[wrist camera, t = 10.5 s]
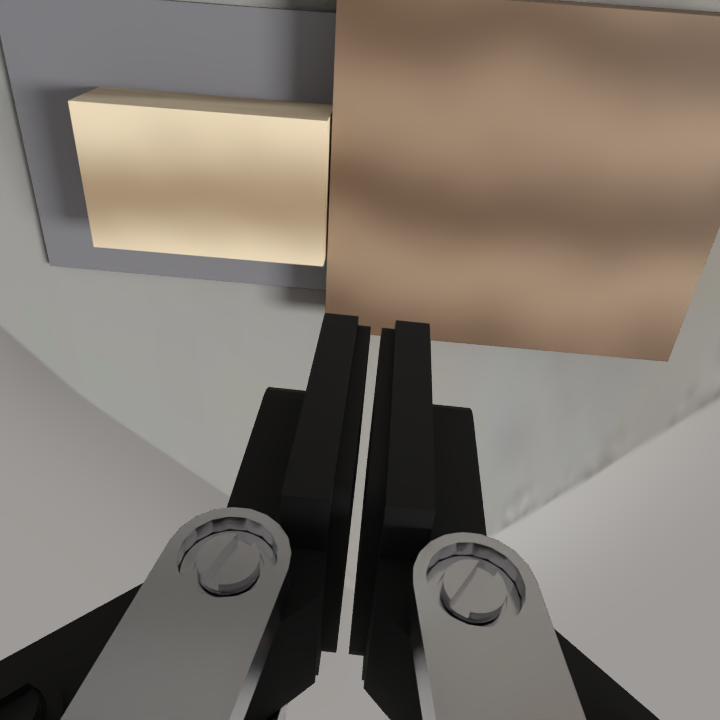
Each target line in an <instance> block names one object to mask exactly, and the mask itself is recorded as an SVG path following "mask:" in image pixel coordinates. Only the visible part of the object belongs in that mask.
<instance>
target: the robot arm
mask: <svg viewBox="0 0 720 720" xmlns="http://www.w3.org/2000/svg"><path fill="white" fill-rule="evenodd" d="M358 323H359V316H352V315H342V314H332V313H325V315H324V319H323V323H322V327H321V331H320V335H319V339H318V343H317V348H316V352H315V356H314V360H313V364H312V368H311V372H310V376H309V381H308V385H307V389H306V391H301V390H292V389H282V388H273V387H268V388H267V389H266V392H265V394H264V397H263V400H262V403H261V406H260V409H259V412H258V415H257V418H256V421H255V424H254V427H253V430H252V433H251V436H250V439H249V442H248V445H247V448H246V451H245V454H244V457H243V460H242V463H241V466H240V469H239V472H238V475H237V478H236V481H235V484H234V487H233V491H232V494H231V497H230V500H229V503H228V506H227V508H222V509H214V510H211V511H209V512H206V513H203V514H201V515H198V516H196V517H194V518H193V519H191V520H190V521H188V522H187V523H186V524H184V525H183V526H181V527H180V528H179V529H178V531H177V532H176V533H175V534H174V535H173V537H172V538H171V539H170V540H169V542H168V544H167V545H166V547H165V549H164V550H163V552H162V554H161V555H160V557H159V558H158V560H157V562H156V563H155V565H154V566H153V568H152V570H151V571H150V573H149V575H148V576H147V578H146V580H145V581H144V583H142V584H140V585H139V586H137V587H135V588H133V589H131V590H129V591H128V592H126V593H124V594H122V595H120V596H118V597H117V598H115V599H113V600H111V601H109V602H108V603H106V604H104V605H102V606H100V607H98V608H96V609H95V610H93V611H91V612H89V613H87V614H85V615H84V616H82V617H80V618H78V619H76V620H75V621H73V622H71V623H69V624H67V625H65V626H63V627H62V628H60V629H58V630H56V631H54V632H52V633H51V634H49V635H47V636H45V637H43V638H41V639H40V640H38V641H36V642H34V643H32V644H30V645H29V646H27V647H25V648H23V649H21V650H19V651H18V652H16V653H14V654H12V655H10V656H8V657H7V658H5V659H3V660H1V661H0V720H285V716H286V710H287V704H288V703H289V702H290V701H291V700H293V699H294V698H295V697H297V696H298V695H299V694H300V693H302V692H303V691H304V690H306V689H307V688H308V687H310V686H311V685H312V684H314V683H315V676H316V675H318V672H319V665H320V657H321V651H326V652H335V653H336V650H337V641H338V632H339V624H340V615H341V606H342V597H343V588H344V579H345V571H346V562H347V553H348V544H349V535H350V526H351V517H352V508H353V500H354V491H355V482H356V473H357V464H358V454H359V444H360V434H361V424H362V414H363V403H364V393H365V383H366V373H367V363H368V353H369V343H370V332H371V326H362V325H358ZM349 654H353V655H362V656H364V658H363V671H362V680H364V689H365V690H366V692H367V693H368V694H369V695H370V696H371V698H372V699H373V700H374V701H375V702H376V703H377V705H378V706H379V707H380V708H381V709H382V711H383V712H384V713H385V714H386V720H659V719H658V718H657V717H656V716H655V715H654V714H652V713H651V712H650V711H649V710H648V709H647V708H646V707H644V706H643V705H642V704H641V703H640V702H638V701H637V700H636V699H635V698H634V697H633V696H632V695H630V694H629V693H628V692H627V691H626V690H624V689H623V688H622V687H621V686H620V685H619V684H618V683H616V682H615V681H614V680H613V679H612V678H611V677H610V676H608V675H607V674H606V673H605V672H604V671H603V670H601V669H600V668H599V667H598V666H597V665H595V664H594V663H593V662H592V661H591V660H590V659H588V658H587V657H586V656H585V655H584V654H583V653H582V652H581V651H579V650H578V649H577V648H576V647H575V646H574V645H572V644H571V643H570V642H569V641H568V640H567V639H565V638H564V637H563V636H562V635H561V634H560V633H559V632H557V631H556V630H555V629H554V627H553V625H552V622H551V619H550V616H549V614H548V610H547V608H546V605H545V602H544V599H543V597H542V594H541V591H540V588H539V585H538V582H537V580H536V578H535V576H534V574H533V572H532V571H531V569H530V567H529V565H528V564H527V563H526V562H525V561H524V560H523V559H522V558H521V557H520V556H519V554H517V553H516V552H515V551H514V550H513V549H511V548H510V547H508V546H507V545H505V544H503V543H502V542H500V541H498V540H496V539H493V538H490V537H487V535H486V527H485V518H484V509H483V500H482V491H481V482H480V474H479V465H478V456H477V447H476V438H475V430H474V421H473V414H472V410H471V409H470V408H463V407H454V406H444V405H435V404H432V374H431V342H430V324H429V323H420V322H410V321H401V320H396V322H395V329H391V328H382V330H381V339H380V348H379V357H378V367H377V376H376V385H375V394H374V403H373V412H372V421H371V431H370V440H369V449H368V458H367V468H366V478H365V489H364V499H363V510H362V520H361V531H360V541H359V552H358V562H357V573H356V583H355V594H354V604H353V614H352V625H351V635H350V647H349Z"/></svg>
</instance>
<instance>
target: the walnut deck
mask: <svg viewBox="0 0 720 720" xmlns="http://www.w3.org/2000/svg"><path fill="white" fill-rule="evenodd" d="M719 227H720V13H718V12H705V11H692V10H678V9H665V8H652V7H639V6H625V5H612V4H599V3H586V2H572V1H559V0H337V6H336V33H335V60H334V87H333V114H332V141H331V169H330V196H329V223H328V250H327V277H326V304H325V313H332V314H342V315H352V316H359V323H358V325H362V326H371V332H370V335H378V336H381V330H382V328H391V329H395V322H396V320H401V321H410V322H420V323H429V324H430V340H434V341H445V342H456V343H467V344H478V345H489V346H500V347H511V348H522V349H533V350H544V351H555V352H566V353H577V354H589V355H600V356H611V357H622V358H633V359H644V360H655V361H666V362H668V360H669V357H670V354H671V352H672V349H673V347H674V344H675V341H676V339H677V336H678V334H679V331H680V328H681V326H682V323H683V321H684V318H685V315H686V313H687V310H688V308H689V305H690V302H691V300H692V297H693V295H694V292H695V289H696V287H697V284H698V282H699V279H700V276H701V274H702V271H703V268H704V266H705V263H706V261H707V258H708V255H709V253H710V250H711V248H712V245H713V242H714V240H715V237H716V235H717V232H718V229H719Z"/></svg>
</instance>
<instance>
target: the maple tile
mask: <svg viewBox="0 0 720 720" xmlns="http://www.w3.org/2000/svg"><path fill="white" fill-rule="evenodd" d="M68 104H69V110H70V116H71V121H72V127H73V133H74V138H75V144H76V150H77V155H78V161H79V167H80V172H81V178H82V183H83V189H84V195H85V200H86V206H87V212H88V217H89V223H90V229H91V234H92V240H93V246H94V247H100V248H112V249H124V250H136V251H147V252H159V253H171V254H182V255H194V256H206V257H218V258H229V259H241V260H253V261H264V262H276V263H288V264H300V265H311V266H323V265H324V261H325V258H326V254H327V250H328V223H329V196H330V169H331V141H332V114H333V105H330V104H318V103H305V102H292V101H279V100H266V99H254V98H241V97H228V96H215V95H202V94H189V93H177V92H164V91H151V90H138V89H125V88H113V87H98V88H96V89H93V90H91V91H89V92H86V93H84V94H82V95H80V96H77V97H75V98H73V99H70V100H68Z"/></svg>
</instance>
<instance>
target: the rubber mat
mask: <svg viewBox="0 0 720 720" xmlns="http://www.w3.org/2000/svg"><path fill="white" fill-rule="evenodd" d="M335 33H336V13H328V12H315V11H302V10H289V9H276V8H263V7H250V6H237V5H224V4H211V3H197V2H184V1H171V0H0V37H1V42H2V46H3V51H4V56H5V60H6V65H7V69H8V74H9V79H10V83H11V88H12V92H13V97H14V102H15V106H16V111H17V115H18V120H19V125H20V129H21V134H22V138H23V143H24V148H25V152H26V157H27V161H28V166H29V171H30V175H31V180H32V184H33V189H34V194H35V198H36V203H37V207H38V212H39V217H40V221H41V226H42V230H43V235H44V240H45V244H46V249H47V253H48V258H49V263H50V266H58V267H69V268H81V269H92V270H103V271H115V272H126V273H137V274H148V275H160V276H171V277H182V278H194V279H205V280H216V281H227V282H239V283H250V284H261V285H272V286H284V287H295V288H306V289H318V290H326V277H327V254H326V258H325V261H324V265H323V266H311V265H300V264H288V263H276V262H264V261H253V260H241V259H229V258H218V257H206V256H194V255H182V254H171V253H159V252H147V251H136V250H124V249H112V248H100V247H94V246H93V240H92V234H91V229H90V223H89V217H88V212H87V206H86V200H85V195H84V189H83V183H82V178H81V172H80V167H79V161H78V155H77V150H76V144H75V138H74V133H73V127H72V121H71V116H70V110H69V104H68V100H70V99H73V98H75V97H77V96H80V95H82V94H84V93H86V92H89V91H91V90H93V89H96V88H98V87H113V88H125V89H138V90H151V91H164V92H177V93H189V94H202V95H215V96H228V97H241V98H254V99H266V100H279V101H292V102H305V103H318V104H330V105H333V87H334V60H335Z"/></svg>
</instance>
